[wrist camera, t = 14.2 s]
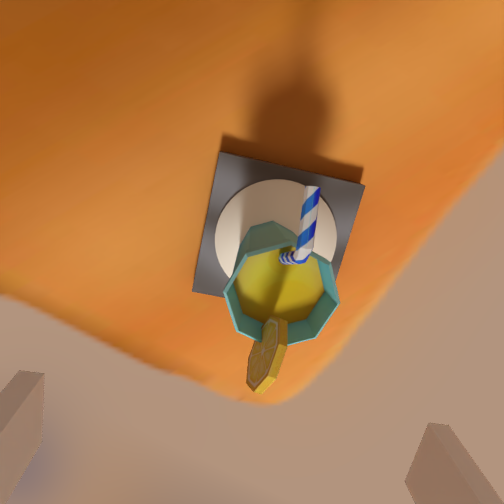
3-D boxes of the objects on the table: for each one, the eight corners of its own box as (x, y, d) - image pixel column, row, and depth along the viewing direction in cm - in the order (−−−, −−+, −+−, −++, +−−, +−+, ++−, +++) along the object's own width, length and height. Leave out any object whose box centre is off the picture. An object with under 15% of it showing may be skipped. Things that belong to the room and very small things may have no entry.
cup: (235, 154, 33) (237, 178, 19) (326, 166, 34) (394, 197, 20) (219, 306, 37) (210, 418, 23) (299, 313, 38) (339, 427, 24)
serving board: (220, 150, 35) (219, 152, 33) (360, 183, 36) (366, 186, 35) (193, 285, 39) (191, 292, 37) (321, 309, 40) (324, 318, 38)
